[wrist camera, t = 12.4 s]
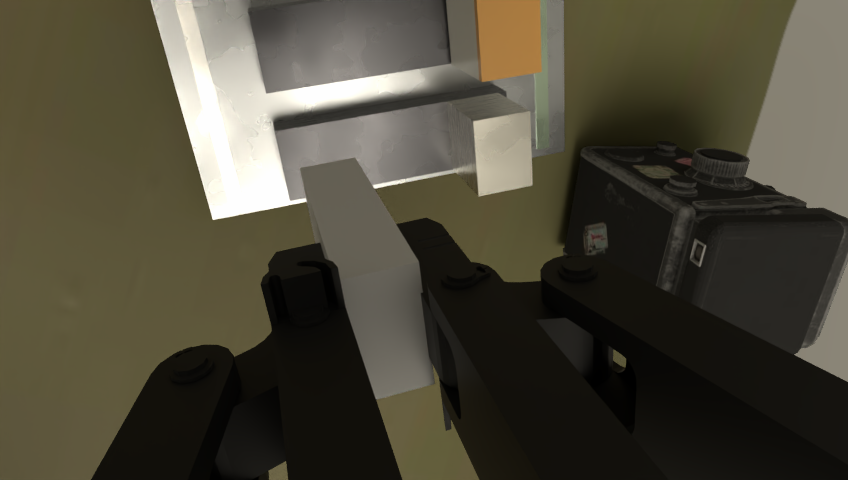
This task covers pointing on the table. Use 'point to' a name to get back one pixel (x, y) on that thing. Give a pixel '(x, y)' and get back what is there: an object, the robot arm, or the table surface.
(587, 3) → the table surface
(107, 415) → the table surface
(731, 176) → the camera
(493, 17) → the block
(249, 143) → the panel
